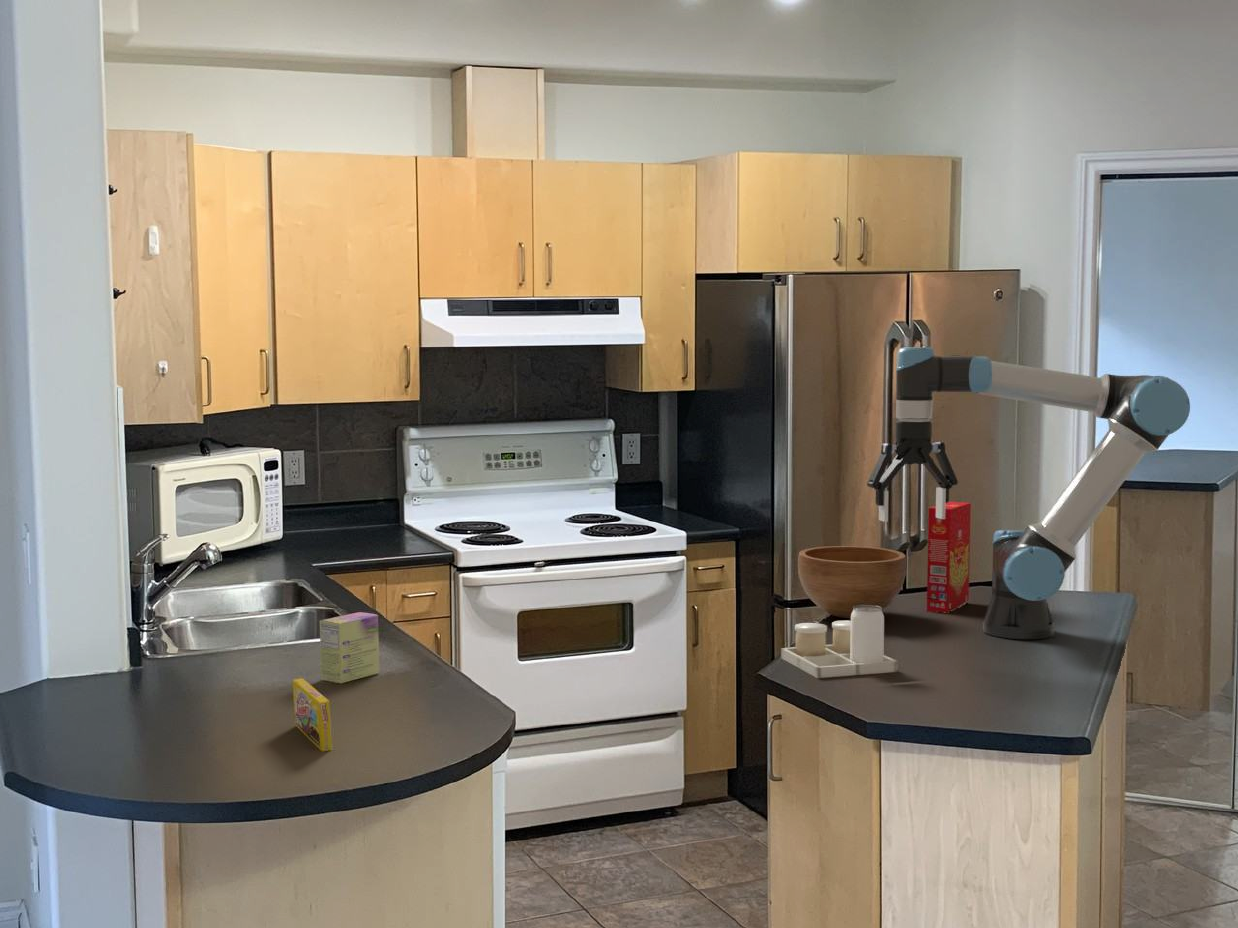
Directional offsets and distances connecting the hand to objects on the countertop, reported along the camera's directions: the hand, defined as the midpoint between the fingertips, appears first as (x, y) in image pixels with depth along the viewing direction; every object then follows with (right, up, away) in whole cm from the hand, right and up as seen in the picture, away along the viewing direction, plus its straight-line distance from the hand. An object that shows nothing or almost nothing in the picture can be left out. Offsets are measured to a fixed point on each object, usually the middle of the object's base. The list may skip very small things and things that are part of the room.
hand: (912, 519), depth 289 cm
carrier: (-19, -29, -18) cm, 39 cm away
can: (-14, -29, -21) cm, 38 cm away
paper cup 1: (-24, -28, -16) cm, 40 cm away
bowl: (-8, -24, +29) cm, 39 cm away
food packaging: (+18, -23, +41) cm, 50 cm away
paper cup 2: (-16, -28, -13) cm, 35 cm away
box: (-115, -30, -26) cm, 121 cm away
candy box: (-113, -34, -66) cm, 135 cm away
